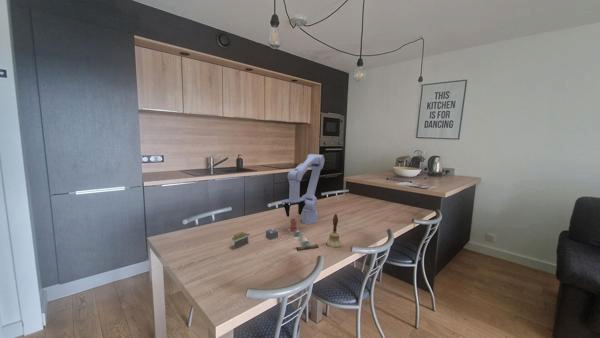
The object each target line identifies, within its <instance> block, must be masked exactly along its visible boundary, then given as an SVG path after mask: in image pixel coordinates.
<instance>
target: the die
mask: <svg viewBox="0 0 600 338" xmlns="http://www.w3.org/2000/svg"><path fill="white" fill-rule="evenodd" d="M278 234H279V231H278V230H277V229H274V228H272V229H267V230H266V231H265V237H266V238H267V239H269V240H270V241H271V240H275V239H277V238H278V236H279V235H278Z"/></svg>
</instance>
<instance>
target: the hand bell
mask: <svg viewBox="0 0 600 338" xmlns="http://www.w3.org/2000/svg"><path fill="white" fill-rule="evenodd" d="M338 223H339V218H338V214H337V213H334V215H333V218H332V227H333V228H332V232H330V234H329V237H328V239H327V242H325V244H326V246H328V247H331V248H340V247H342V245H343V244H342V241H341V239H340V234H339V233H337V226H338Z"/></svg>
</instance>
